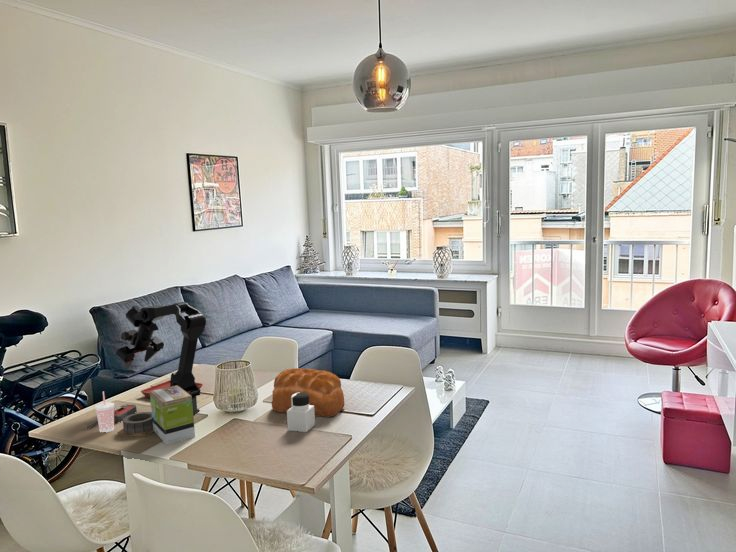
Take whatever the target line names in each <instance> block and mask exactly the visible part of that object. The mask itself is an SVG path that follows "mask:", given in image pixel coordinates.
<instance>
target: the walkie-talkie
mask: <svg viewBox="0 0 736 552" xmlns="http://www.w3.org/2000/svg"><path fill="white" fill-rule="evenodd" d="M135 412H136V413H138V412H137V406H136V404H121V406H116V407H114V424H117V423H116V422H120V423H122V422H123V418H125V417H126V416H129V415H131V414H134V413H135ZM121 421H122V422H121ZM97 424H98V419H96V420H94V421H93V422H91V423H90V424H88V425H86V429H90V428H92V427H94V426H95V425H97Z"/></svg>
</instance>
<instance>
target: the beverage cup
mask: <svg viewBox="0 0 736 552" xmlns="http://www.w3.org/2000/svg"><path fill="white" fill-rule="evenodd" d="M102 401H103V402H102V403H98V404H95V406H94V409H95V412H96V417H97V420H98V423H97V424H98V430H99V433H101V432H106V433H110V432H112V431H114V430H115V423H114V408H115V403H114V402H110V401H108V402H106V396H105V391H102Z"/></svg>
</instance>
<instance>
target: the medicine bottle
mask: <svg viewBox="0 0 736 552" xmlns="http://www.w3.org/2000/svg"><path fill="white" fill-rule="evenodd" d="M291 404H292V407H291V408H290V409H289V410H287V413H286V420H287V421H286V422H287V431H290V432H297V431H298V432H299V433H307V432H309V431H310V430H311V429H312V428H313V427H314V426H316V418H315V417H316V416H315V413H314V405H309V395H308V394H307V393H304V392H299V393H295V394H293V395H292V396H291ZM308 430H309V431H308Z"/></svg>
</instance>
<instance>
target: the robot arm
mask: <svg viewBox="0 0 736 552" xmlns="http://www.w3.org/2000/svg"><path fill="white" fill-rule="evenodd" d="M182 314H186V315H184V316H183V315H182ZM171 315H175V321H176V323H177V324H178V325H179V326H180V331H181V334H182V337H183V338H182V345H181V350H180V356H179V362H178V368H177V371H175V372H171V374H170V382H169V383H170V387H171V386H176V385H178V386H179V387H180V388H182V389H183V390H184V391H186V392H188V391H190V392H189V393H188V394H190V395H191V396H192V404H193V416H195V413H196V414H197V413H198V412H200V409H199V408H198V403H197V402H198V401H197V397H198V396H200V395H201V388H200V389H199V388H198V386H197V385H196V383H197V382H196V383H195V379H196V378H195V376H194V374H193V368H194V367H193V366H194V362H195V357H196V351H197V346H198V339H199V337H200V336H201V335H202V334H203V332H204V331H205V328H206V326H207V318H206V317H205V316H204V314H203V313H202V312H201V311H200V310H199V309H196V308H194V307H193V306H191V305H189V303H188V302H186V301H181V302H175V303H173V304H168V305H164V306H163V305H161V304H154V305H150V306H143V307H141V308H140V307H139V306H138V305H133V306H131V308H130V309H129V310H128V311H127V312H126V313H125V318H126V319H127V321H129V322H130V323H131V324H132V326H134V327H135V328H138V329H137V330H136V329H131V330H127V331H123V332H121V335H120V338H121V340H122V341H125V342H126V341H127V342H129V343H130V344H129V345H130V346H133V347H132V348H130V347H128V346H127V345H124V346H121V347H118V348H117V349H116V352H115V355H116V356H118V357H119V358H120V359H121V360H122V361H123V363H124V368H125V369H126V370H128V369H129V368H130V366H131V365H132V364H133V362H134V360H135V356H136V355H135V354H138V353H142V352H145V355H144V362H145V363H148V361H149V360H150V359H152V357H154V356H155V355H156V354H157V353H158V352H160V351H161V350H162V349H164V345H165V342H164V341H163V340H162V339H160V338H159V337H158V336H157V335H154V332H155V331H158V330H159V326H158V325H157V323H156V322H154V321H159V320H161V319H163V318H164V317H165V316H171ZM153 335H154V336H153Z"/></svg>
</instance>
